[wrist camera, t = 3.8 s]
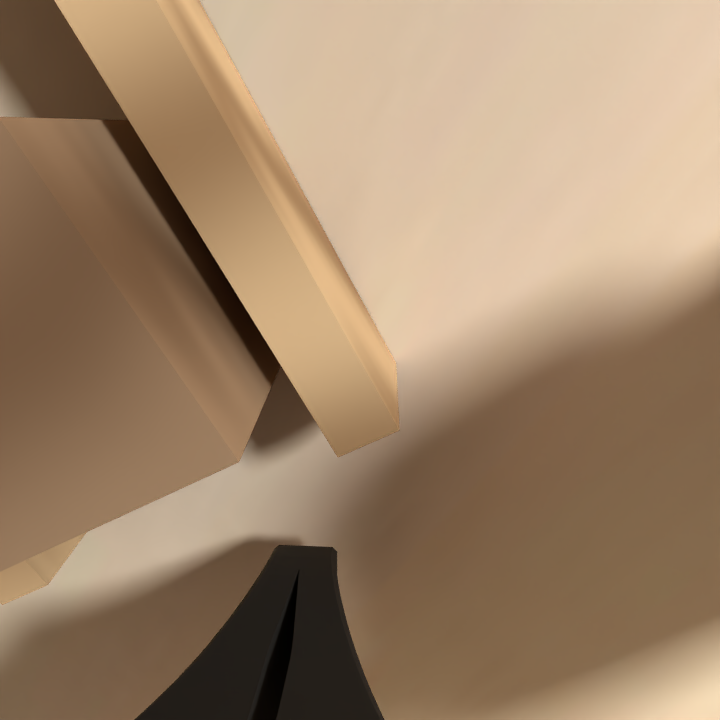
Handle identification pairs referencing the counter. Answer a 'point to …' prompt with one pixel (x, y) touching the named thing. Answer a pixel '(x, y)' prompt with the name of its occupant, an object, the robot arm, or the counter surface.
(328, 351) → the trap lane
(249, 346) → the walnut block
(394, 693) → the counter surface
